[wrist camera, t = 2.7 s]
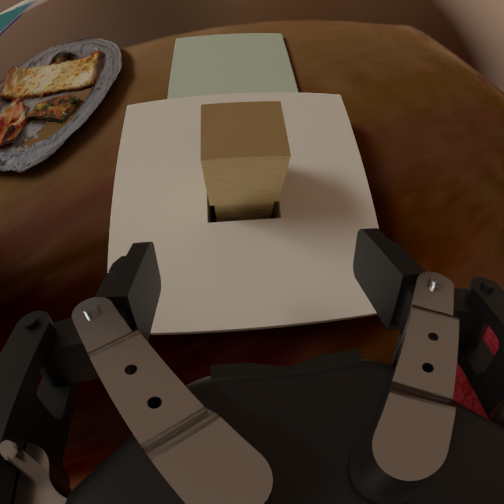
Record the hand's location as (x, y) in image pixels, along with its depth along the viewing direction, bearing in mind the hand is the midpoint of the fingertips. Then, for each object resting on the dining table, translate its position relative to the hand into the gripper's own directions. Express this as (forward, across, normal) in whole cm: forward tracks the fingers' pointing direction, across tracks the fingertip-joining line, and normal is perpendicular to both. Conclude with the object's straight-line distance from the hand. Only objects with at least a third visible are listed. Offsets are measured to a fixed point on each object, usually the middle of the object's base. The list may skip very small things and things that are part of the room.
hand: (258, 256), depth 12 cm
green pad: (+28, 0, -10) cm, 30 cm away
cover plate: (+14, 0, +4) cm, 15 cm away
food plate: (+28, +26, -9) cm, 40 cm away
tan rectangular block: (+14, 0, +4) cm, 15 cm away
